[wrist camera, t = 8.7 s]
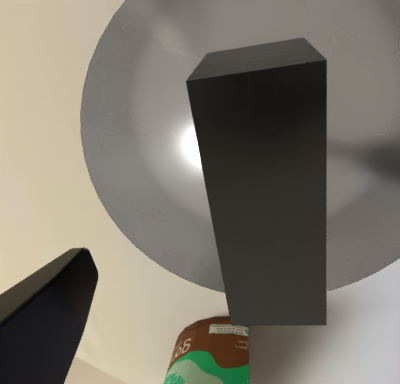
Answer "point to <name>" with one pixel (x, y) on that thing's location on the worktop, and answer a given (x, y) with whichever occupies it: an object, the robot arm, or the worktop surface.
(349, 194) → the lid
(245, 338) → the food container
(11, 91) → the worktop surface
